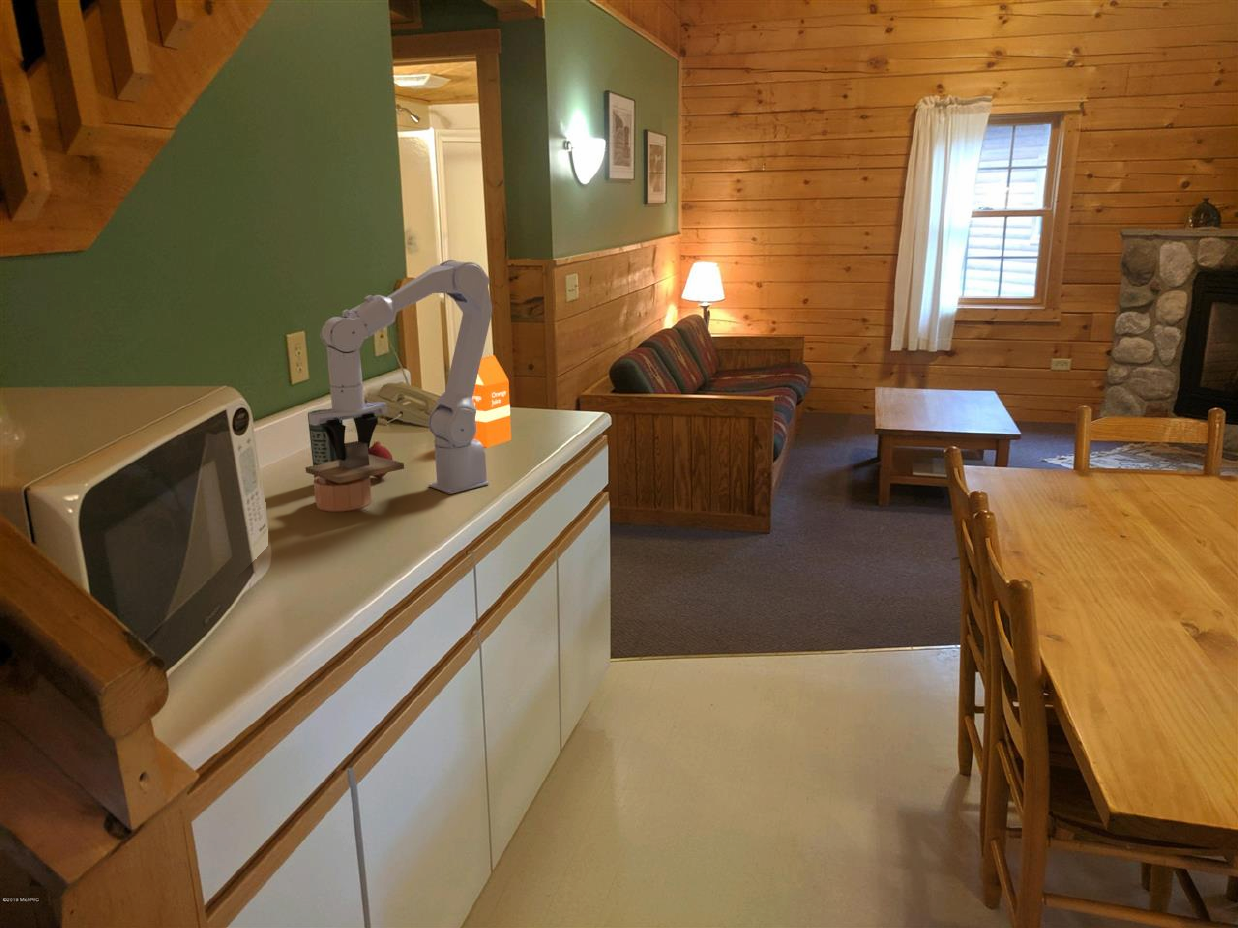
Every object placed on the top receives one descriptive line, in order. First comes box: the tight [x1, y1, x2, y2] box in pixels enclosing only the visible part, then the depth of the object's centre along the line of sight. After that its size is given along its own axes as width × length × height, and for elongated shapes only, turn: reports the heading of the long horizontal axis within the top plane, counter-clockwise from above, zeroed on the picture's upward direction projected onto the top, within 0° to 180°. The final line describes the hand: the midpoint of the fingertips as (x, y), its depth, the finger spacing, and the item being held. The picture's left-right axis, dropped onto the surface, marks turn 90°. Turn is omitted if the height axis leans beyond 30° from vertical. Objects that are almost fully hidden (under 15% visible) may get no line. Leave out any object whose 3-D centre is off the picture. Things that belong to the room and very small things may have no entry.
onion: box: [368, 440, 394, 480], centre depth 189 cm, size 6×6×8 cm
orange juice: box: [472, 355, 512, 448], centre depth 216 cm, size 8×9×20 cm
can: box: [307, 408, 344, 480], centre depth 184 cm, size 6×6×15 cm
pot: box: [313, 476, 373, 513], centre depth 174 cm, size 10×10×5 cm
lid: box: [305, 440, 405, 483], centre depth 170 cm, size 13×13×5 cm
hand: (352, 457), depth 170 cm, fingers closed on lid, 4 cm apart
